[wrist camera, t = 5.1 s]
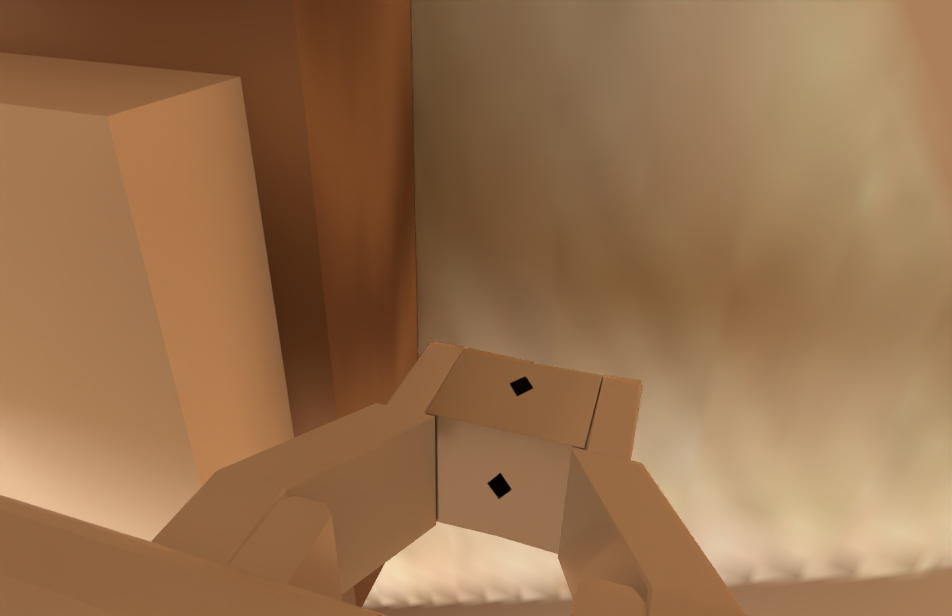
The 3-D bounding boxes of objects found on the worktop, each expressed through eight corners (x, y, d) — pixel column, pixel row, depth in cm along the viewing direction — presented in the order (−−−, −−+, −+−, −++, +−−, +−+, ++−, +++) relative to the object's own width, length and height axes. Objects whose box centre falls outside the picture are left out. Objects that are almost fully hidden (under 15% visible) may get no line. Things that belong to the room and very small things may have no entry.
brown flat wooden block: (-135, -208, 13) (-414, -255, 10) (405, -224, 10) (262, -297, 7) (81, 404, 21) (-34, 490, 18) (420, 494, 19) (356, 615, 15)
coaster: (-70, 45, 11) (-254, 71, 9) (240, 76, 9) (107, 116, 7) (68, 417, 15) (-36, 495, 13) (300, 480, 13) (225, 580, 11)
